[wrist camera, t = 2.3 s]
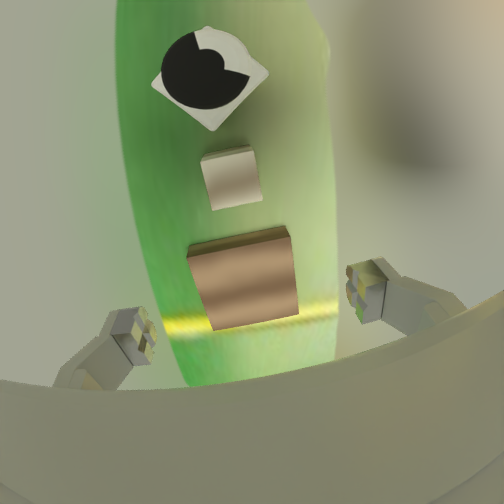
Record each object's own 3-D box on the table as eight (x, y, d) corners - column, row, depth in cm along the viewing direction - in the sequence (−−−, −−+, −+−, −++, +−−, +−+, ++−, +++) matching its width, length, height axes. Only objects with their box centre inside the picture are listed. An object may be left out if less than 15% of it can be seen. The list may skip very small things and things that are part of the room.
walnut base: (189, 245, 33) (186, 258, 31) (284, 225, 33) (290, 236, 31) (213, 316, 39) (213, 330, 37) (294, 300, 39) (298, 314, 36)
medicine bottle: (215, 128, 27) (209, 138, 16) (166, 90, 24) (129, 78, 14) (260, 81, 25) (284, 62, 14) (210, 42, 22) (202, 2, 11)
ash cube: (204, 154, 28) (200, 161, 24) (249, 144, 28) (253, 150, 24) (214, 195, 31) (212, 211, 26) (257, 186, 31) (262, 200, 26)
